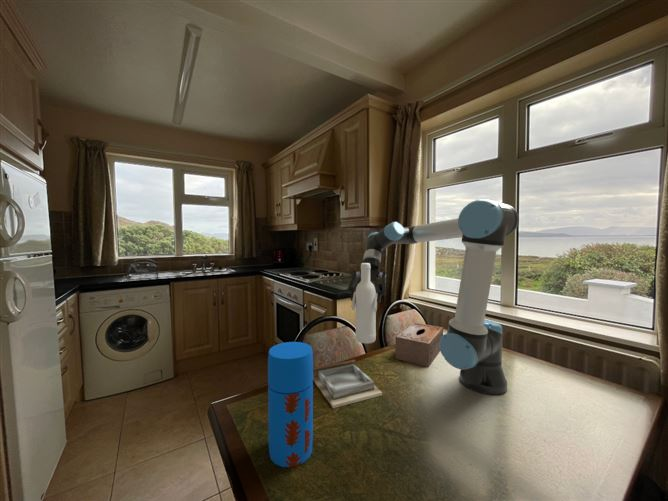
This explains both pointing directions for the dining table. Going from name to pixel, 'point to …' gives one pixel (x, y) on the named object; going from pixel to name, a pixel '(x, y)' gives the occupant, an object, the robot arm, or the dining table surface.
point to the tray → (344, 383)
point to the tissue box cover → (419, 344)
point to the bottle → (365, 307)
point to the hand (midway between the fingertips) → (363, 308)
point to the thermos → (290, 403)
